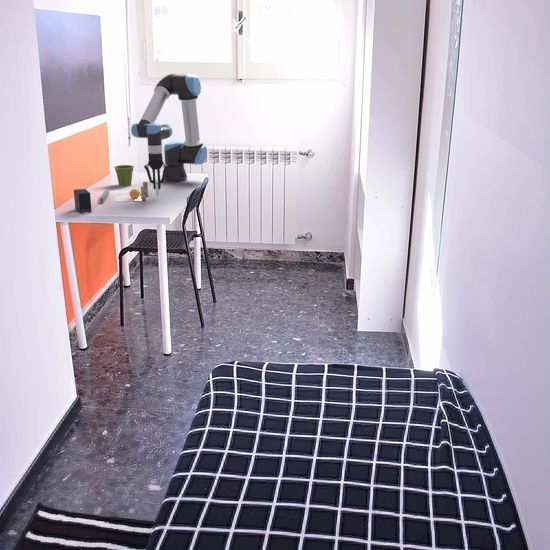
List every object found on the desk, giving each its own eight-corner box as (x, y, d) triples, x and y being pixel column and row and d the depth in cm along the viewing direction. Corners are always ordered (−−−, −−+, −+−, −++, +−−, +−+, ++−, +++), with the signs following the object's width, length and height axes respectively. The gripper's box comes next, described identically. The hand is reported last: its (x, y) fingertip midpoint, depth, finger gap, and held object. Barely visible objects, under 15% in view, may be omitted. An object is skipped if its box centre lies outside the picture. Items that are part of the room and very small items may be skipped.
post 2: (141, 200, 366) (140, 186, 363) (146, 200, 366) (145, 186, 363) (141, 201, 364) (140, 187, 361) (145, 201, 364) (145, 187, 361)
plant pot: (137, 186, 399) (135, 167, 395) (117, 187, 395) (115, 169, 391) (133, 182, 409) (132, 164, 405) (113, 183, 405) (112, 165, 401)
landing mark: (119, 195, 376) (119, 195, 376) (144, 195, 377) (144, 195, 377) (115, 201, 363) (115, 201, 363) (141, 201, 364) (141, 201, 364)
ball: (128, 192, 371) (135, 185, 370) (135, 199, 373) (142, 193, 372) (126, 194, 366) (133, 188, 365) (133, 201, 368) (140, 195, 366)
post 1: (144, 195, 377) (143, 181, 375) (148, 195, 378) (147, 181, 375) (143, 196, 375) (142, 182, 372) (147, 196, 375) (147, 182, 373)
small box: (92, 212, 342) (90, 192, 338) (79, 213, 339) (77, 193, 335) (87, 207, 351) (85, 188, 347) (74, 209, 348) (72, 189, 344)
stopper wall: (105, 194, 378) (105, 189, 377) (109, 194, 378) (108, 189, 377) (100, 203, 359) (99, 197, 358) (103, 203, 359) (103, 197, 358)
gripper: (142, 153, 358) (144, 196, 366) (166, 153, 359) (168, 196, 368) (143, 151, 365) (146, 193, 373) (167, 151, 366) (169, 193, 375)
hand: (157, 195), depth 370 cm, fingers closed
